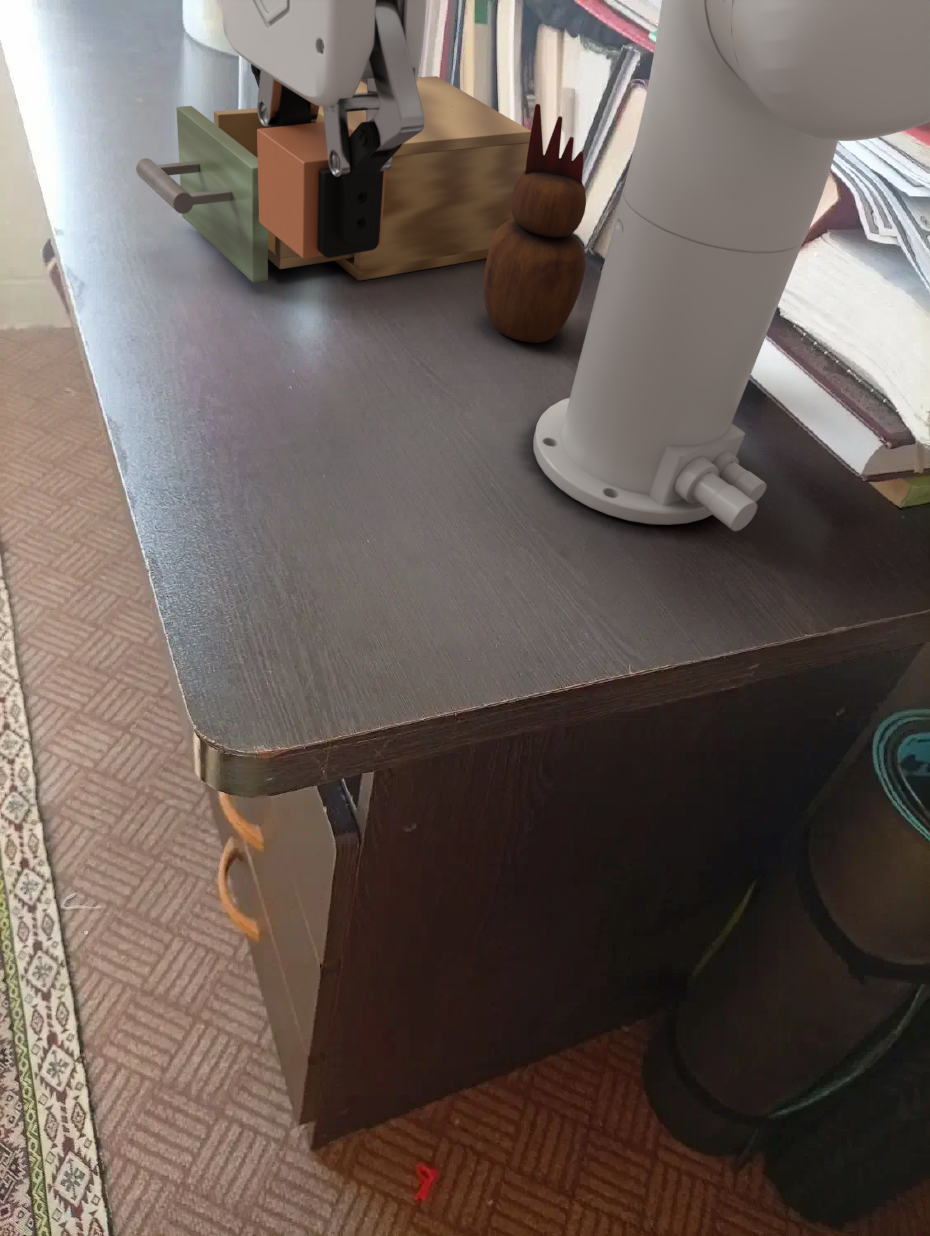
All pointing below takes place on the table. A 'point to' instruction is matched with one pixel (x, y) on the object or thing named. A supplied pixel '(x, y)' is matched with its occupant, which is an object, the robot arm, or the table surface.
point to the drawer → (223, 189)
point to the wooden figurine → (538, 244)
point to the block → (293, 183)
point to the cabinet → (444, 184)
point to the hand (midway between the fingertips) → (320, 225)
